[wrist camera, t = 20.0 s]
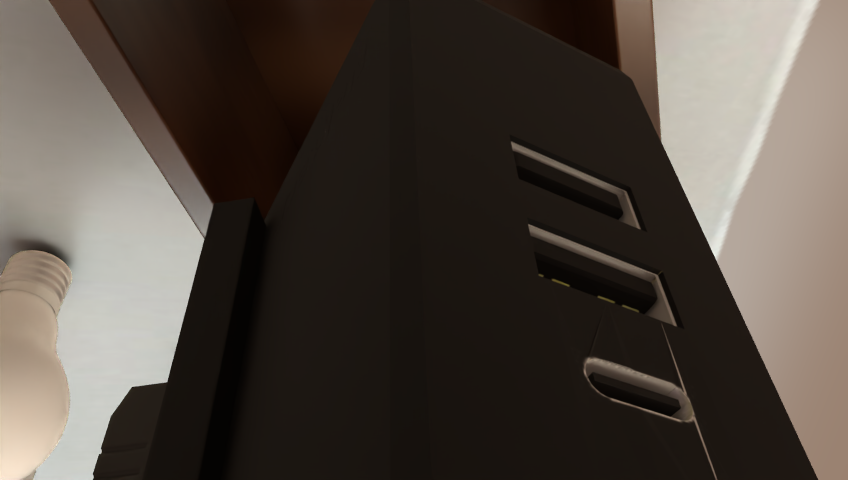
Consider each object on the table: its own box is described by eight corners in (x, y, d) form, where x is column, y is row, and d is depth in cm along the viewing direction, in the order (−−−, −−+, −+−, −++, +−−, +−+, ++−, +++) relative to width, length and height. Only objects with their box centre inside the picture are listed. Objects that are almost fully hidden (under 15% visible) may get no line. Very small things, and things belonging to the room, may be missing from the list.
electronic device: (623, 52, 13) (954, 754, 5) (371, 380, 18) (359, 931, 11) (399, -62, 11) (424, 679, 4) (203, 333, 17) (63, 927, 10)
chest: (101, -217, 21) (-25, -109, 15) (548, -371, 19) (632, -326, 13) (305, 195, 32) (285, 364, 25) (608, 123, 30) (671, 286, 23)
